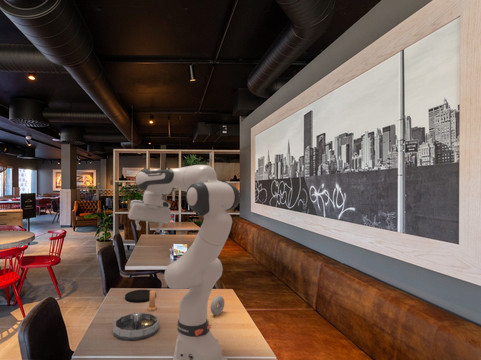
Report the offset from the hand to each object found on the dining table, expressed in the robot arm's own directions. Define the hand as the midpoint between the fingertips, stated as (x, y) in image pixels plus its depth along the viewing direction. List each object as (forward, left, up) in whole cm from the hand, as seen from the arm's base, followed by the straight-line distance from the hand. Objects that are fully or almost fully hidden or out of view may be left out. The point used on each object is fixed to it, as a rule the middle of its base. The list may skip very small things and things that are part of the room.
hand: (148, 231), depth 150 cm
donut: (-14, -35, -46) cm, 60 cm away
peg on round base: (+16, -15, -46) cm, 51 cm away
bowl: (+1, +4, -46) cm, 46 cm away
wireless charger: (+36, -21, -47) cm, 63 cm away
